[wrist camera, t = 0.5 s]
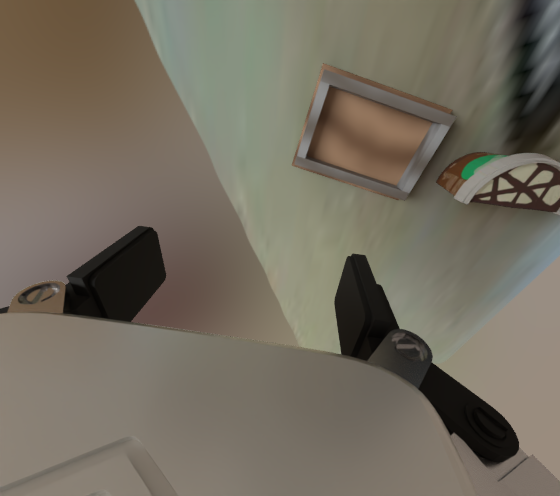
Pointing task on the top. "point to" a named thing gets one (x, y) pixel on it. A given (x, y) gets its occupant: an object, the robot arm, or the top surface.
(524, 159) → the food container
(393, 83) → the top surface
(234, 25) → the top surface
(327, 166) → the cradle
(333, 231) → the top surface
